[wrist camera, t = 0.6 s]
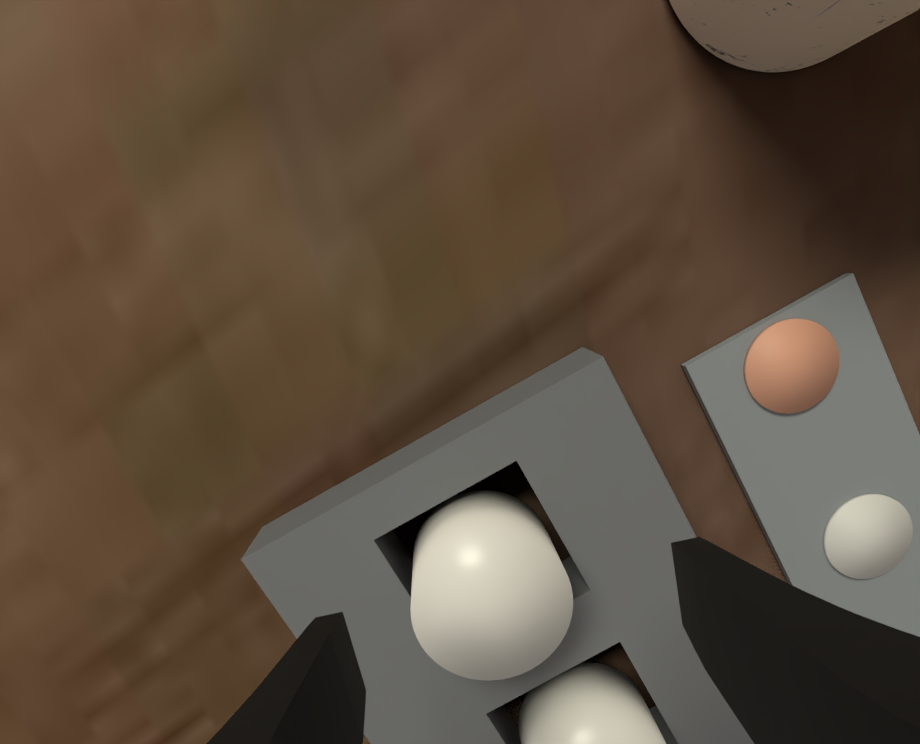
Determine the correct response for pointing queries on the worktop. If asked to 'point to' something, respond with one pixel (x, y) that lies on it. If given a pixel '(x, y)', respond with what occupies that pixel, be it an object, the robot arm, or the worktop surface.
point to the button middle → (587, 709)
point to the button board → (589, 567)
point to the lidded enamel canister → (785, 28)
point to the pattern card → (823, 450)
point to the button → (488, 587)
